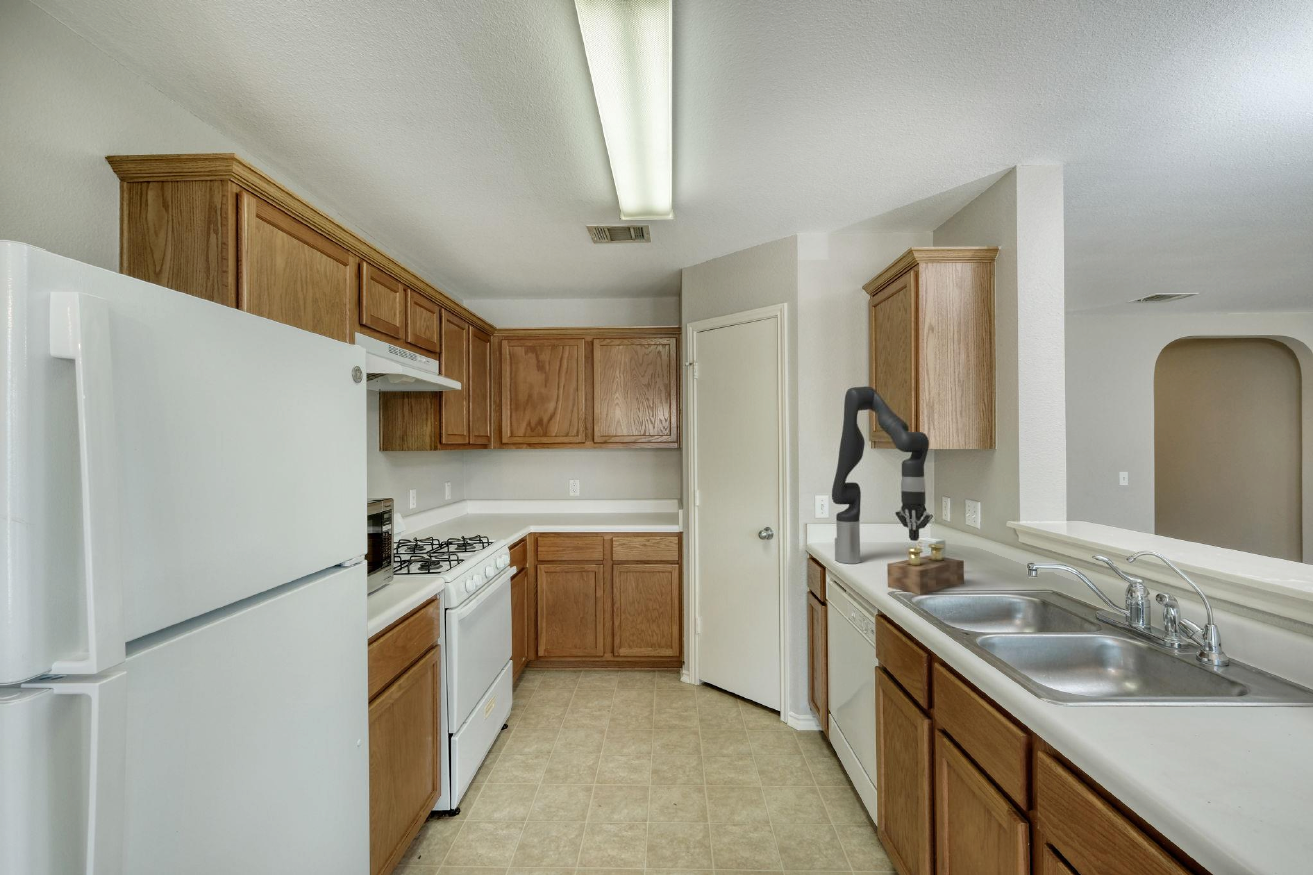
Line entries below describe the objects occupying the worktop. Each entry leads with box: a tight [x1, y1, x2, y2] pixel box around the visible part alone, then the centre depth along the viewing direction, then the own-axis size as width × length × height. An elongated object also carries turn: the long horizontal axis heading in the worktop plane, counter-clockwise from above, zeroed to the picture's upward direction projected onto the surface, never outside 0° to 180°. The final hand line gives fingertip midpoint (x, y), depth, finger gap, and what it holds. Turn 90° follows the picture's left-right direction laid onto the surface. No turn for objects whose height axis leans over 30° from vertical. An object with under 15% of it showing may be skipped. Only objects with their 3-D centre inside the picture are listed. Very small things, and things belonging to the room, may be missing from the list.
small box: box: [916, 536, 947, 558], centre depth 206 cm, size 8×6×13 cm
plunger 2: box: [929, 544, 944, 562], centre depth 193 cm, size 5×5×8 cm
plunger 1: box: [906, 547, 923, 567], centre depth 186 cm, size 5×5×8 cm
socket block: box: [886, 555, 965, 596], centre depth 189 cm, size 12×26×8 cm, turn 122°
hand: (914, 540), depth 186 cm, fingers closed
